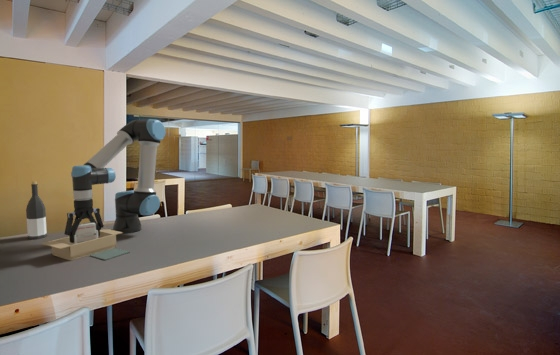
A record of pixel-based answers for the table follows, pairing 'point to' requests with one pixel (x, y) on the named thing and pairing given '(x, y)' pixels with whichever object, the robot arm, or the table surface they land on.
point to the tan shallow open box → (83, 245)
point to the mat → (109, 254)
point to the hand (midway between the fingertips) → (85, 245)
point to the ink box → (86, 232)
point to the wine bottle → (36, 215)
